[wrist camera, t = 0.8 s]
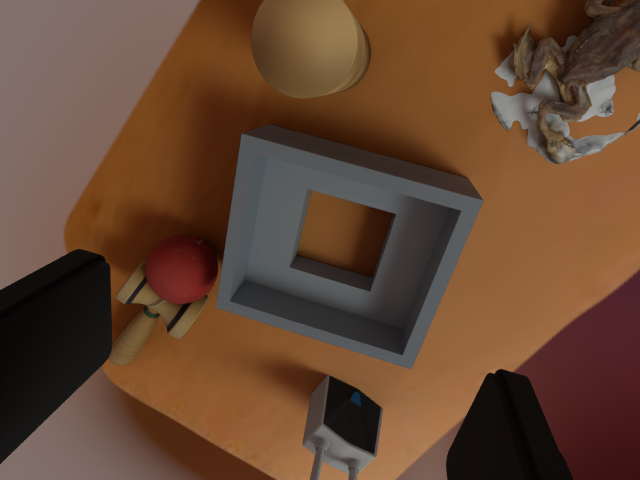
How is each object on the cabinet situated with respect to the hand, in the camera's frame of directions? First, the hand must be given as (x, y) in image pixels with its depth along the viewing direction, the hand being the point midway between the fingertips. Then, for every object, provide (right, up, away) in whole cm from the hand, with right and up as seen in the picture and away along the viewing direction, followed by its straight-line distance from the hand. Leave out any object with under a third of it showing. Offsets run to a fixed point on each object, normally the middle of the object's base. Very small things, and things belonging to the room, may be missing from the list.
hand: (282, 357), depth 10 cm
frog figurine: (+18, +15, +17) cm, 29 cm away
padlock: (+4, -14, +31) cm, 34 cm away
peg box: (+3, +4, +24) cm, 24 cm away
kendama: (-14, -3, +31) cm, 34 cm away
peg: (+2, +16, +19) cm, 25 cm away
